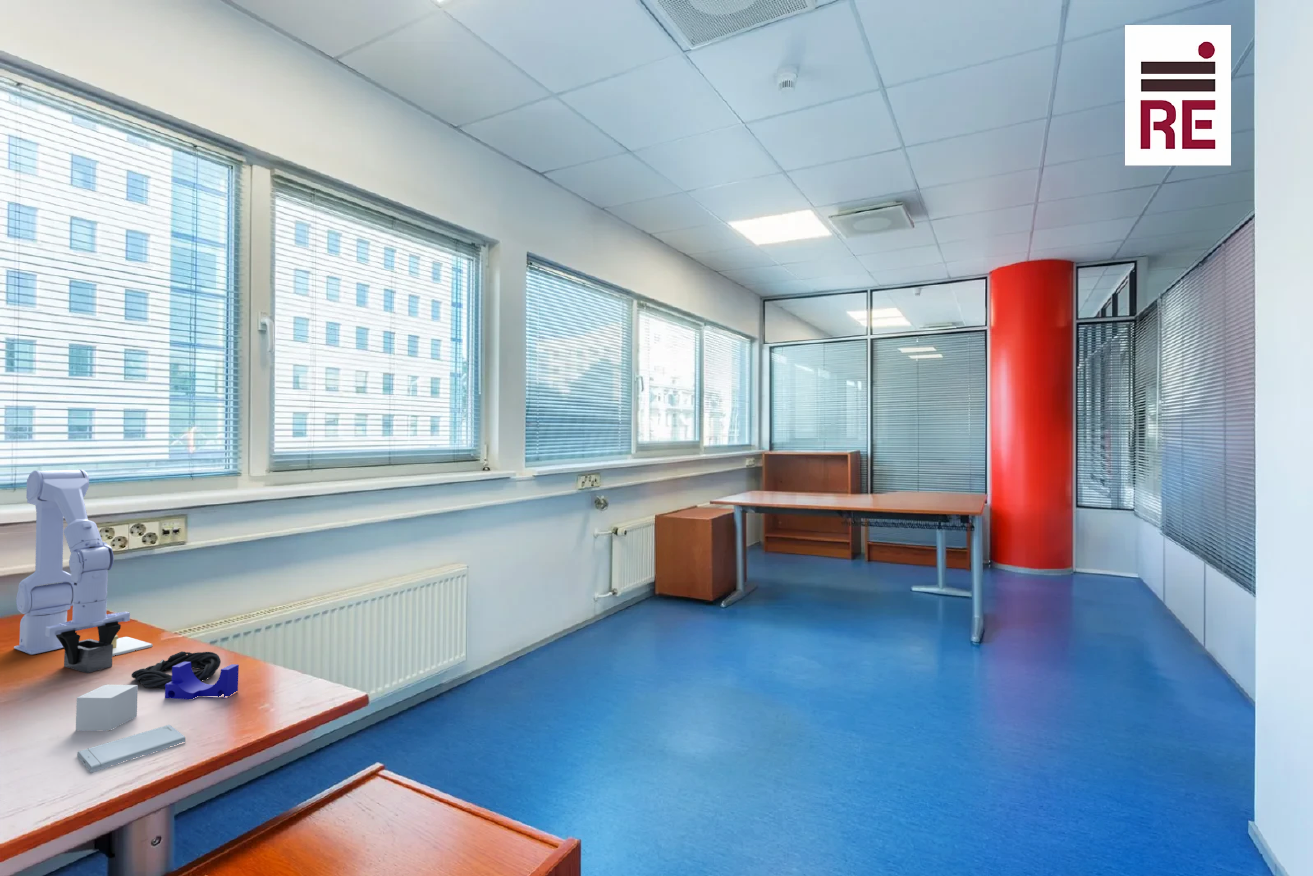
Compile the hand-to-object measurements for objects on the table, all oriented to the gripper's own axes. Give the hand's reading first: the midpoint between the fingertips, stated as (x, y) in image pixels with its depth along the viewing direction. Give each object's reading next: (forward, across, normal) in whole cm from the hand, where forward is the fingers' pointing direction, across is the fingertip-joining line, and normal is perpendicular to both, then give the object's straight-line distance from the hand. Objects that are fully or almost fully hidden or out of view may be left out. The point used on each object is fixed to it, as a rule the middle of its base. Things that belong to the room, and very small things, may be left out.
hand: (88, 660), depth 141 cm
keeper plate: (+1, +8, +9) cm, 12 cm away
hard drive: (+2, -15, -52) cm, 54 cm away
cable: (+2, +6, -24) cm, 25 cm away
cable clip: (+2, +3, -38) cm, 38 cm away
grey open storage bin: (+1, 0, 0) cm, 1 cm away
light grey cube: (+2, -12, -37) cm, 39 cm away
